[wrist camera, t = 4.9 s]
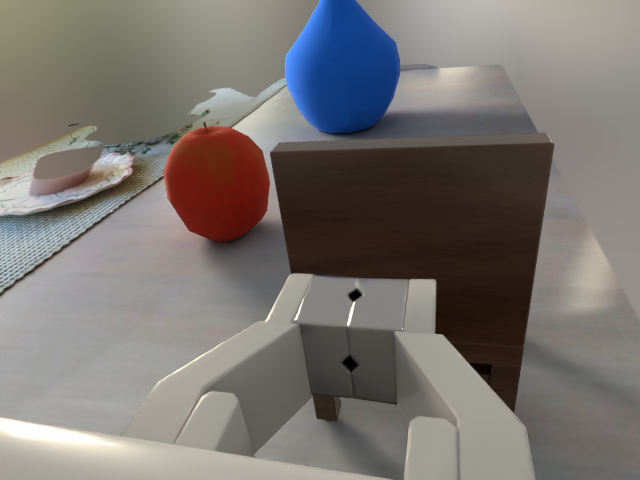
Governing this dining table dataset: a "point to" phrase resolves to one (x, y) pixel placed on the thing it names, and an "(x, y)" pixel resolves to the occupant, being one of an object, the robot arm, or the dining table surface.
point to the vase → (342, 68)
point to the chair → (427, 230)
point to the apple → (217, 182)
